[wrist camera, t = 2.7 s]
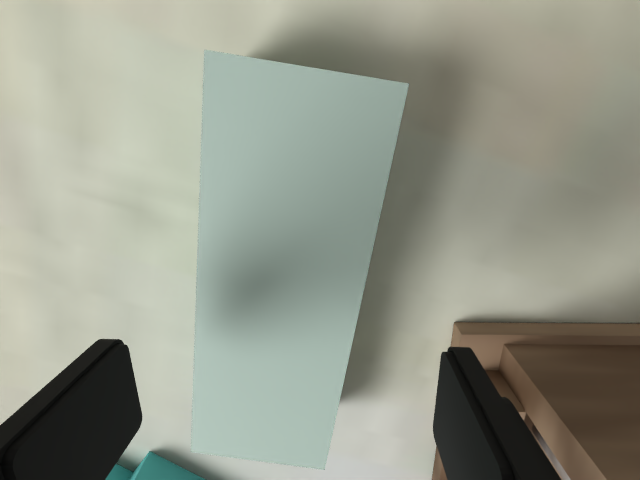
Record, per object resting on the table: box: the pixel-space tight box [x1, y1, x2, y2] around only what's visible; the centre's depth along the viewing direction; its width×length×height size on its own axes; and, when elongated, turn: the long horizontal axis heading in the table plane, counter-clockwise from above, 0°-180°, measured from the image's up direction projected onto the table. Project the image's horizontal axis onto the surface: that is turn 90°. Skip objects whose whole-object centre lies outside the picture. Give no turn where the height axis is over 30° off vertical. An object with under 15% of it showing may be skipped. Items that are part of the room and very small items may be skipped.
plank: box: [191, 50, 409, 470], centre depth 15 cm, size 16×6×4 cm, turn 171°
